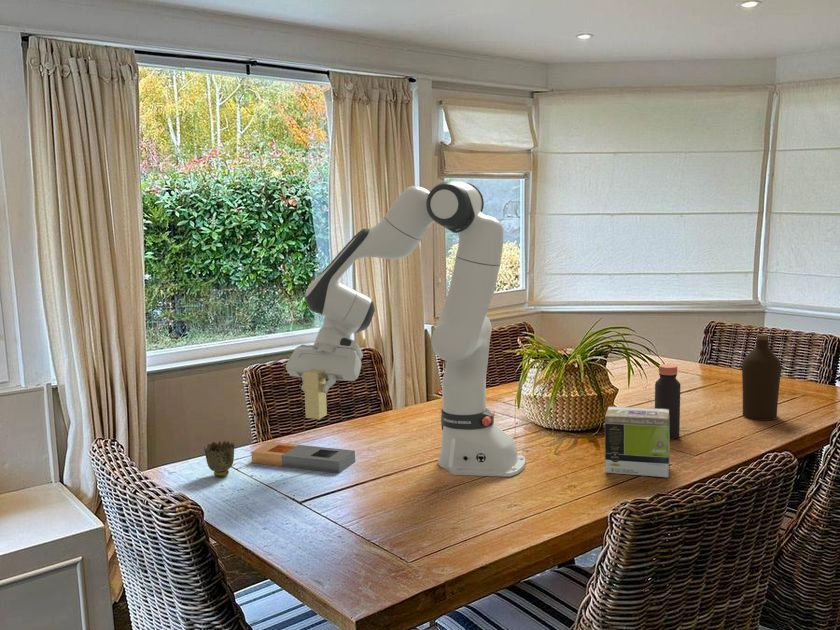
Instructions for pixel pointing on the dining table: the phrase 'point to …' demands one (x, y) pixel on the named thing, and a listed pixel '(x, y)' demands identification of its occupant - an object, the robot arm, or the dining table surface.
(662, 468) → the tea box
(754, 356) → the olive oil
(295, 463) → the rail
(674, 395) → the bottle
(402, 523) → the dining table surface
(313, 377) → the yellow rectangular block
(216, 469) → the cup
